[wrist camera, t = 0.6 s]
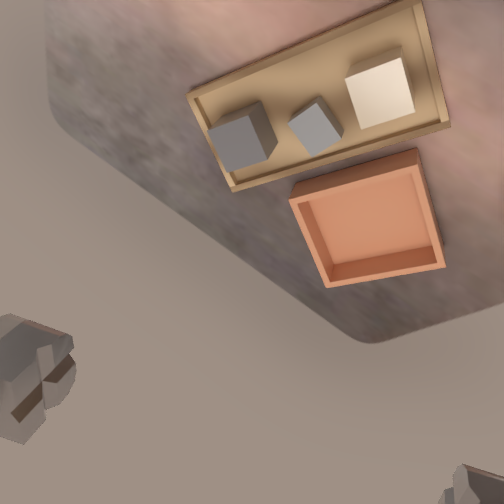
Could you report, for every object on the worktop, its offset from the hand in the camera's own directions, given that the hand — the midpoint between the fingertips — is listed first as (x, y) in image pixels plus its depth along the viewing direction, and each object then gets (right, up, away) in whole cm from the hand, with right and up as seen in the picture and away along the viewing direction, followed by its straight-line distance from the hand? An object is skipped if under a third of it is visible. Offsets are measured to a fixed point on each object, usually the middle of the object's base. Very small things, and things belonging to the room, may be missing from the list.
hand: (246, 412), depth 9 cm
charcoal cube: (0, +14, +33) cm, 36 cm away
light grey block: (+6, +14, +31) cm, 34 cm away
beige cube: (+10, +17, +27) cm, 34 cm away
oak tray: (+5, +16, +30) cm, 35 cm away
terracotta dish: (+11, +7, +35) cm, 37 cm away
